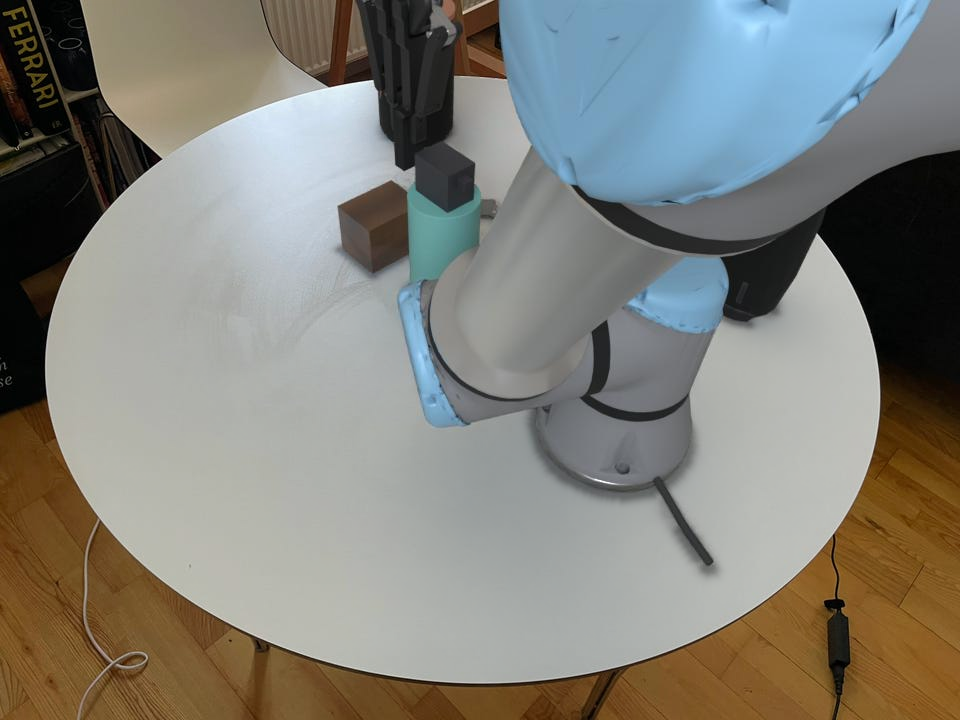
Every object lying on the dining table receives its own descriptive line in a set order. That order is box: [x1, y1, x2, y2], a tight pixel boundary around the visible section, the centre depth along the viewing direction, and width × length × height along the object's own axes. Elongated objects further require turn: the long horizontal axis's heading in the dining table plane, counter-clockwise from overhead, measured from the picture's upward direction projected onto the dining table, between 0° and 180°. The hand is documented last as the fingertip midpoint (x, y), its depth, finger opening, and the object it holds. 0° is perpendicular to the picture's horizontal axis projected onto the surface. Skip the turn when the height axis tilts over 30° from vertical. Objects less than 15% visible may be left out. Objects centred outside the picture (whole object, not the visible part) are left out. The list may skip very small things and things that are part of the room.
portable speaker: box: [720, 205, 828, 323], centre depth 82 cm, size 9×9×20 cm
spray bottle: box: [407, 140, 483, 285], centre depth 81 cm, size 15×8×19 cm, turn 43°
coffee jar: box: [377, 0, 456, 149], centre depth 104 cm, size 11×11×18 cm
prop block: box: [337, 179, 409, 274], centre depth 91 cm, size 6×8×6 cm
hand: (409, 163), depth 79 cm, fingers closed
